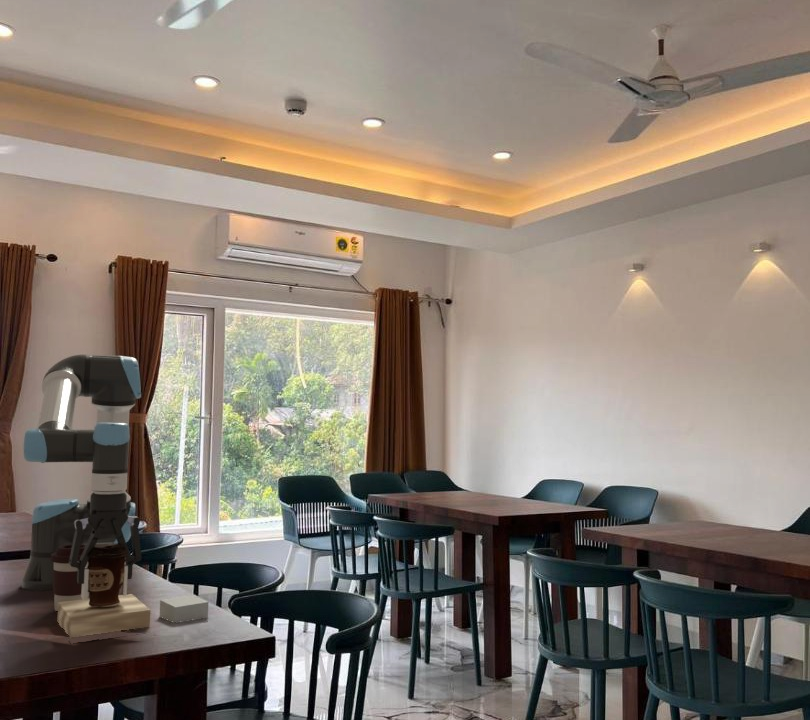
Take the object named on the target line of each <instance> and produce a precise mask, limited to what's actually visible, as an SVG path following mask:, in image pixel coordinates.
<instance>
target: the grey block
mask: <svg viewBox="0 0 810 720" xmlns="http://www.w3.org/2000/svg"><path fill="white" fill-rule="evenodd" d="M161 617H163V618H165V619H168V620H170V621H173V622H180V621H186V622H188V621H187V620H192V619H198V620H202V619H201V618H203V619H208V618H209V601H208V600H205V599H202V598H200V597H198V596H197V595H193V594H191V595H183V596H177V597H170V598H165V599H160V600H159V618H161ZM163 618H162V619H163ZM165 619H164V620H165ZM168 620H167V621H168ZM170 621H169V622H170ZM192 621H193V620H192ZM173 622H172V623H173ZM180 623H181V622H180Z"/></svg>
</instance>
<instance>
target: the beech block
mask: <svg viewBox="0 0 810 720" xmlns="http://www.w3.org/2000/svg"><path fill="white" fill-rule="evenodd" d="M118 598H119V601H120V604H119V605H116V606H110V607H94V606H90V605H89V600H90V598H88V599H87V600H83V599H82V600H73V601H64V602H58V612H57V617H56V619H57V621H56V623H57V622H58V623H59V624H58V623H57V624H58V625H59V626H60V627H61V629H62V628H63V629H64V630H65V631H64V630H63V629H62V630H63V631H64V633H66V635H67V634H68V635H69V636H70V638H71V637H79V636H86V635H93V634H101V633H108V632H114V631H121V630H127V631H130V630H129V629H134V630H136V629H135V628H142V629H144V628H143V627H149V628H150V625H151V609H150V608H149V607H148V606H147V605H145V604H144V603H143V602H142V601H141V600H139V598H137V597H136V596H135V595H134V594H132V593H129V594H127V595H125V596H123V595H122V594H119V595H118ZM68 635H67V636H68Z"/></svg>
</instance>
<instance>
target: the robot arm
mask: <svg viewBox="0 0 810 720" xmlns="http://www.w3.org/2000/svg"><path fill="white" fill-rule="evenodd" d="M139 365H140V364H139V362H138V360H137V358H135V357H132V356H125V355H107V354H106V355H103V354H102V355H100V354H97V355H96V354H75V355H71V356H67V357H66V358H65V357H64V358H62V359H61V360H59V361H58V362H56V363H55V364H53V366H51V367H50V368H49V369H48V370H47V372H46V373H45V374H44V377H43V379H42V383H41V391H42V393H43V398H42V404H41V407H40V412H39V419H38V423H37V428H33V429H32V428H31V429H30V428H29V429H28V430H26V431H25V432H24V437H23V438H24V440H23V458H24V460H25V461H26V462H29V463H41V464H45V463H92V467H91V469H92V470H91V479H90V482H91V483H90V484H91V485H90V491H92V493H91V494H89V495H88V497H87V498H86V503H80V500H79V499H78V498H63V499H56V500H50V501H45V502H42V503H39V504H37V505H36V506H35V507H33V511H32V518H31V521H30V523H31V538H30V539H31V542H30V554H29V555H30V556H29V561H28V563H27V566H26V568H25V571H24V574H23V576H22V578H21V589H23V590H26V589H27V590H26V591H53V569H54V562H52V561H51V554H52V553H55V552H57V550H58V548H59V547H60V546H64V545H71V544H72V549H71V554H70V558H69V564H70V565H71V566H72V567H75V568H77V569H78V571H77V582H78V583H79V584H82V592H81V598H82V599H83V600H87V597H88V576H89V569H87V567H86V564H87V562H88V560H89V557H88V556H87V554H88V553H89V552H90V550H91V549H94V548H92V547H95V545H96V544H107V543H118V544H120V545H125V550H127V551H128V552H127V557H126V560H125V565H124V567H125V568H124V570H125V572H124V577H123V585H121V588H120V590H119V594H120V595H123V596H125V595H127V593H128V580H131V579H132V578H133V565H134V564H135V563H137V562H140V561H142V550H141V539H140V532H139V531H140V530H139V527H140V522H141V519H140V517H138V516H136V503H135V502H133V501H132V498H131V497H132V496H130V494H128V493H127V491H126V490H128V467H129V466H128V465H129V453H130V450H129V449H130V439H131V435H130V411H131V409H132V408H134V406H135V405H136V399H137V400H138V399H141V398H142V392H141V388H142V387H141V377H140V367H139ZM79 397H85V398H91V405H92V406H93V407H94V408H95V409H96V423H95V425H94V428H93V429H73V423H74V416H75V415H74V414H75V408H76V407H75V406H76V401H77V398H79ZM131 501H132V502H131ZM130 539H131V548H132V554H131V552H130V550H129V547H128V545H127V542H129V540H130ZM81 544H84V545H86V547H85V549H84V551H83V553H82V555H81V557H80V560H79V561H77V560H78V555H79V550H80V546H81Z"/></svg>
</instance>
